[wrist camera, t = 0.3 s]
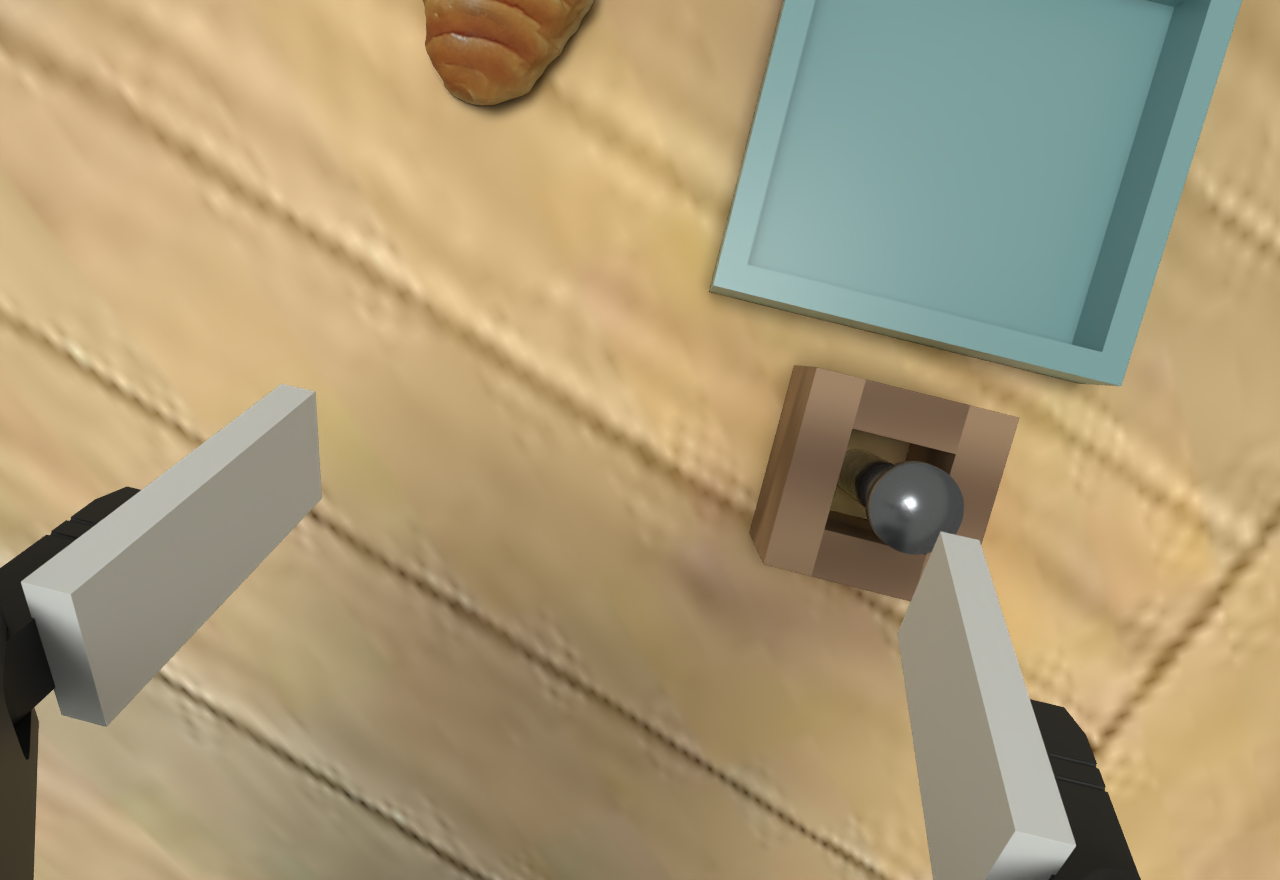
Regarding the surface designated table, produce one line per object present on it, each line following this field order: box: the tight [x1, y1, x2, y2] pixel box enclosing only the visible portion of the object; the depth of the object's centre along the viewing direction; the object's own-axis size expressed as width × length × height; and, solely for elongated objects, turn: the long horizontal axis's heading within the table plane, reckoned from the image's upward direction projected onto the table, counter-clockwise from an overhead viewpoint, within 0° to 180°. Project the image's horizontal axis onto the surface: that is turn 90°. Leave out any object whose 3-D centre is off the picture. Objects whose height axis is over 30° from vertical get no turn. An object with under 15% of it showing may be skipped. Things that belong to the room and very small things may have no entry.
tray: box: [709, 0, 1242, 386], centre depth 30 cm, size 15×15×3 cm
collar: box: [750, 366, 1019, 601], centre depth 30 cm, size 7×7×5 cm
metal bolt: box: [837, 449, 964, 555], centre depth 29 cm, size 3×3×8 cm
